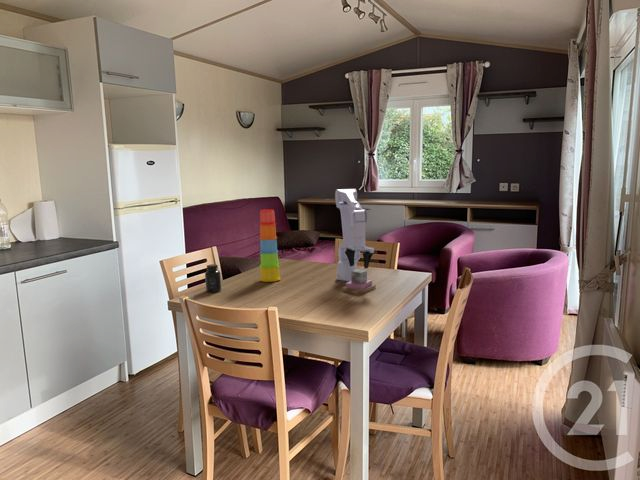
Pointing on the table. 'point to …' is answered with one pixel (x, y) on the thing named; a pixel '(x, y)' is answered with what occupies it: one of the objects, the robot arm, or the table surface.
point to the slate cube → (359, 276)
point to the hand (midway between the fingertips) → (359, 267)
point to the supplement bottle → (213, 279)
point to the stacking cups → (268, 247)
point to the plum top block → (359, 285)
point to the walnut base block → (359, 290)
